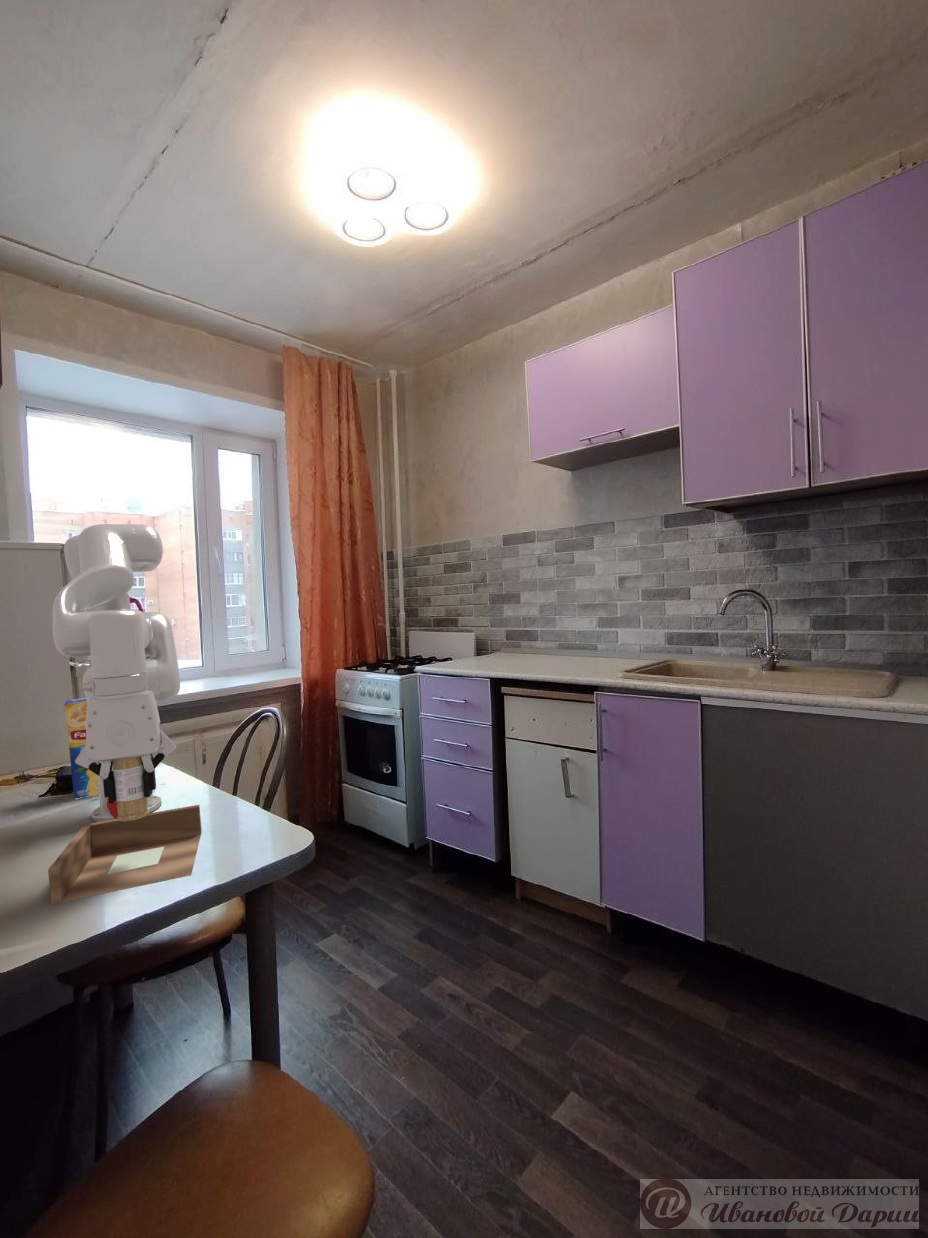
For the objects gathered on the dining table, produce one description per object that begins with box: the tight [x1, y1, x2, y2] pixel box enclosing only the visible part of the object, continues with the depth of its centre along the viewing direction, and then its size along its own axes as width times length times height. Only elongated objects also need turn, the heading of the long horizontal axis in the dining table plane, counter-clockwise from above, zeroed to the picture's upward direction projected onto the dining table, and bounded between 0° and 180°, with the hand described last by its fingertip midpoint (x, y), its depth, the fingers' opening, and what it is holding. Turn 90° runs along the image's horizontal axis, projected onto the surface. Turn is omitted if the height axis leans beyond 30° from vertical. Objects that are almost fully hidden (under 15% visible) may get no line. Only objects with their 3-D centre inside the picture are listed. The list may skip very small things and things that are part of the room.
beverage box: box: [64, 697, 99, 799], centre depth 134 cm, size 7×11×22 cm, turn 123°
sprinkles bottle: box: [113, 756, 149, 821], centre depth 92 cm, size 5×5×14 cm
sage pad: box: [107, 847, 164, 875], centre depth 93 cm, size 7×7×1 cm
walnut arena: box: [47, 804, 203, 905], centre depth 92 cm, size 18×18×6 cm
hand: (131, 796), depth 92 cm, fingers closed on sprinkles bottle, 4 cm apart
